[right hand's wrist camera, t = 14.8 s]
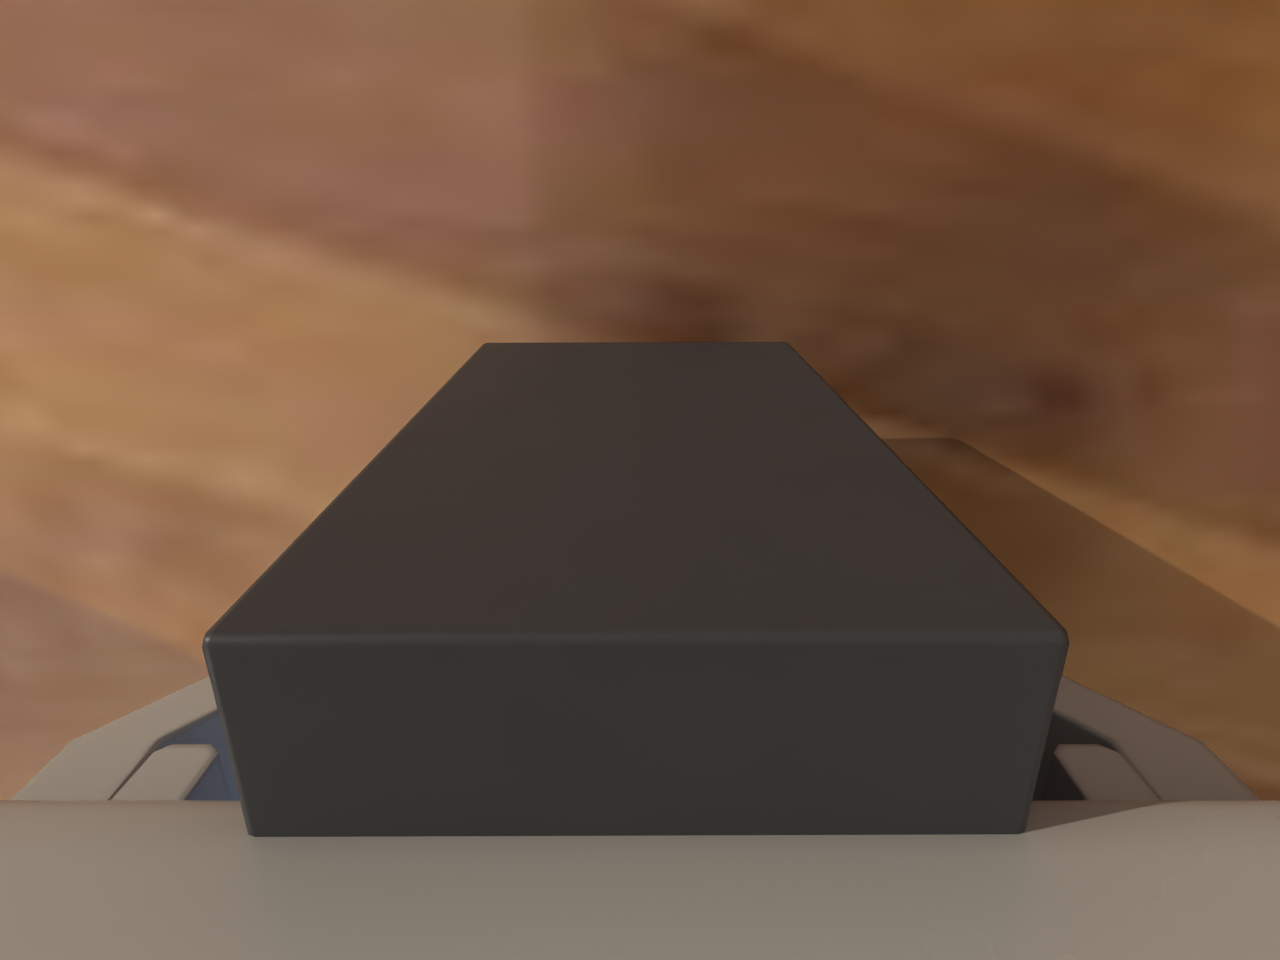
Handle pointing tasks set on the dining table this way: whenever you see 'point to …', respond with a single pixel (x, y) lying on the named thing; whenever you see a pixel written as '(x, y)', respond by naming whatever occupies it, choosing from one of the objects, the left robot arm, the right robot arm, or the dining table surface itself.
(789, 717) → the bar
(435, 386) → the dining table surface
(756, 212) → the dining table surface
